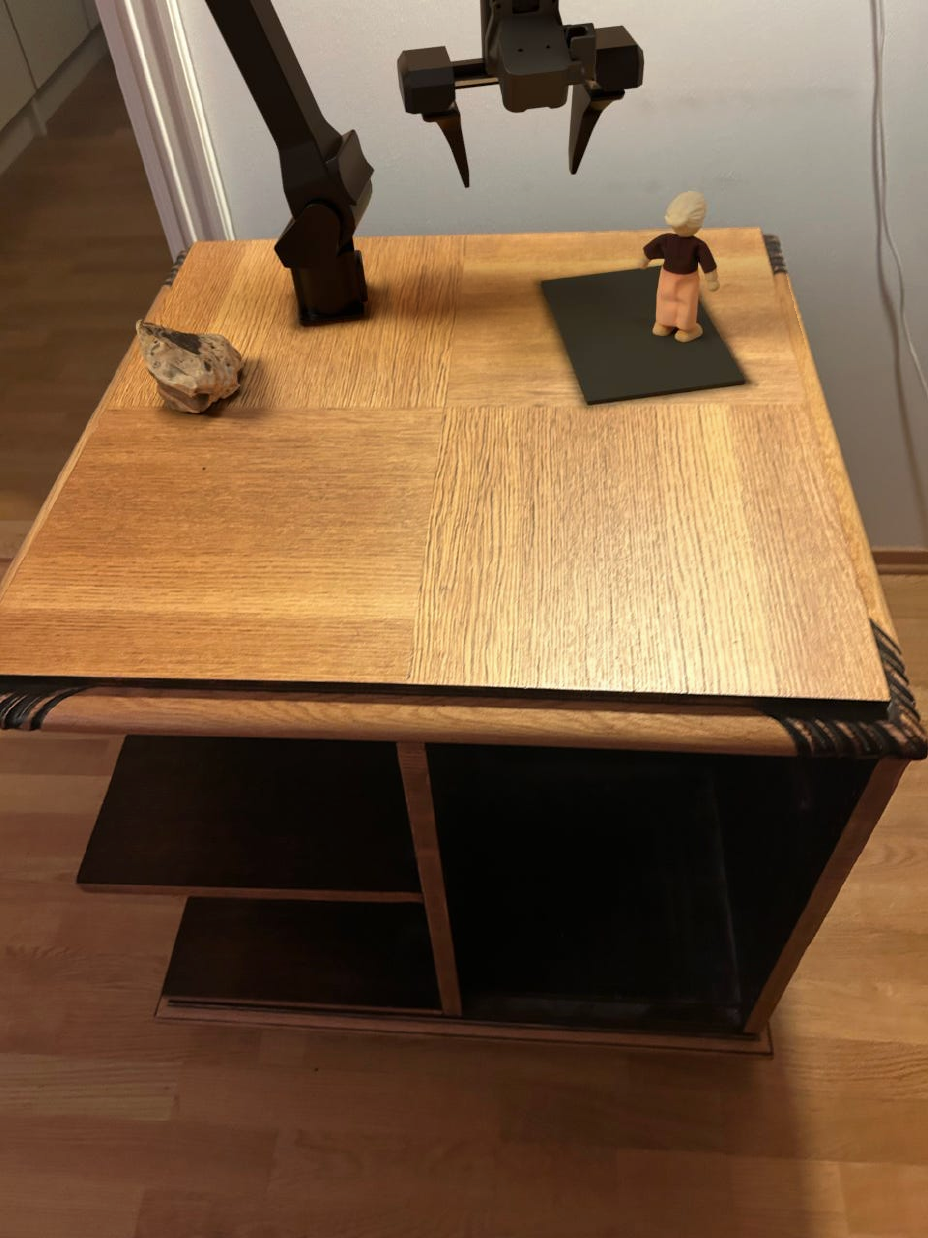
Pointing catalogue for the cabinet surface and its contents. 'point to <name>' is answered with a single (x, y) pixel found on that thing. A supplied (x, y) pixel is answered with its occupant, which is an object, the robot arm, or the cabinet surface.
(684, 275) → the grandmother figurine
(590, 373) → the mat
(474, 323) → the cabinet surface
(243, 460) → the cabinet surface
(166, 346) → the rock
